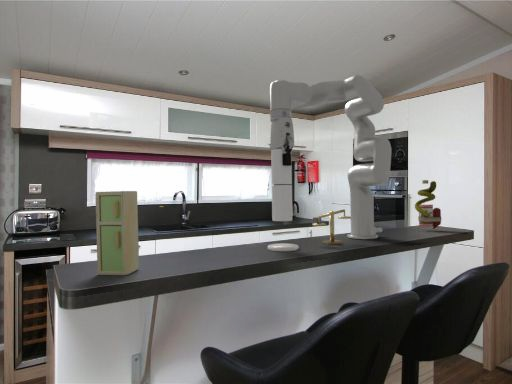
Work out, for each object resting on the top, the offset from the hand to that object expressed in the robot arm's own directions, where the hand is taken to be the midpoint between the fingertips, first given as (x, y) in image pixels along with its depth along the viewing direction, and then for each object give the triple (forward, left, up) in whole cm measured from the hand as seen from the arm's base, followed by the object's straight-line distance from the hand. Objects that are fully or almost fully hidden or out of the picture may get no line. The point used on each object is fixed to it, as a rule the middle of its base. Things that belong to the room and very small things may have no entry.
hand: (281, 166), depth 114 cm
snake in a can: (-87, -11, -30) cm, 93 cm away
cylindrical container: (0, 0, -19) cm, 19 cm away
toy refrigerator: (+54, +11, -30) cm, 63 cm away
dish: (0, 0, -29) cm, 29 cm away
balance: (-22, -1, -29) cm, 37 cm away
